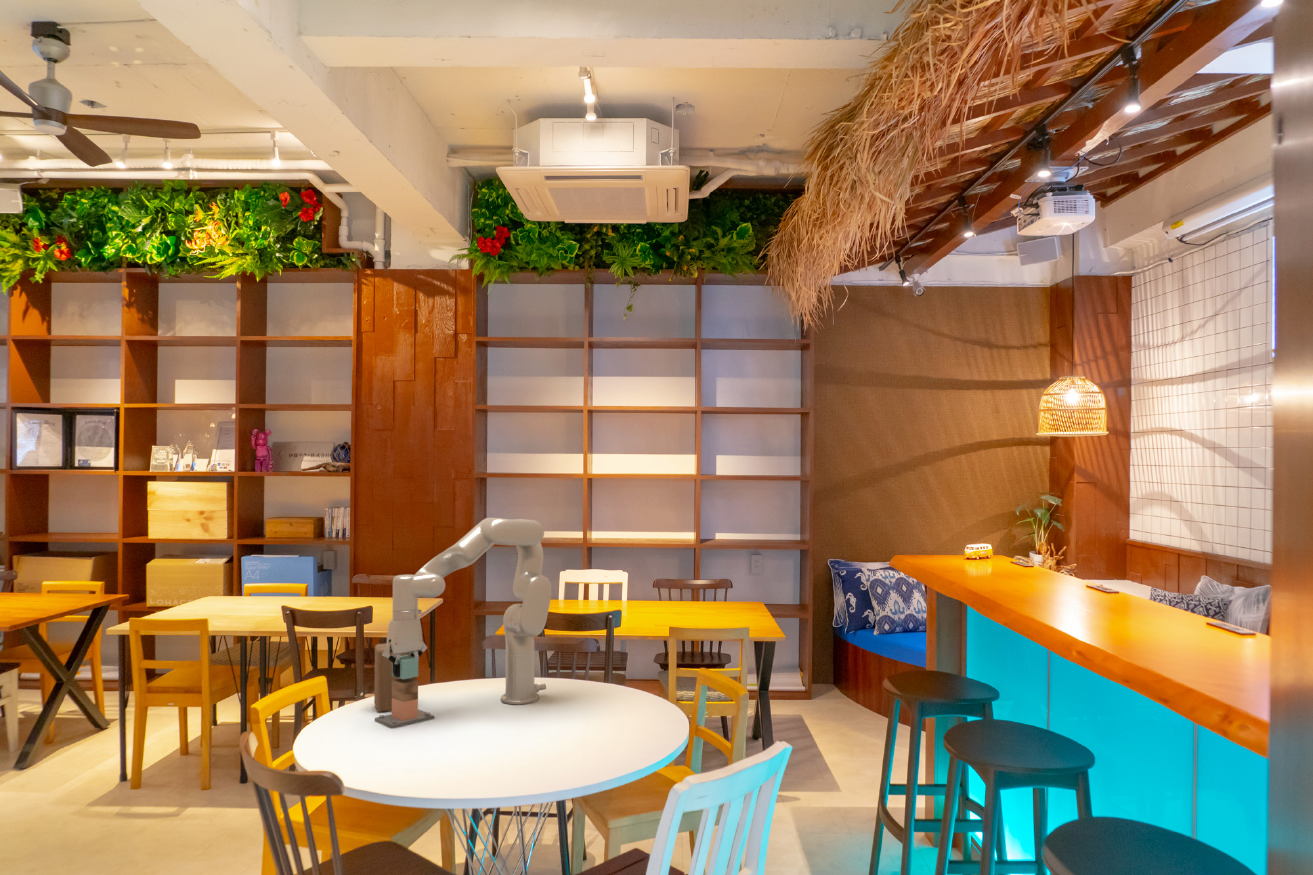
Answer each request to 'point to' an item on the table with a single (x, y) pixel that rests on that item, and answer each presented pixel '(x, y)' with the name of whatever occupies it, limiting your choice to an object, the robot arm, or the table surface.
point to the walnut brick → (404, 689)
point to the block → (383, 679)
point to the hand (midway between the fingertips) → (405, 674)
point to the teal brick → (407, 667)
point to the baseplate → (402, 723)
